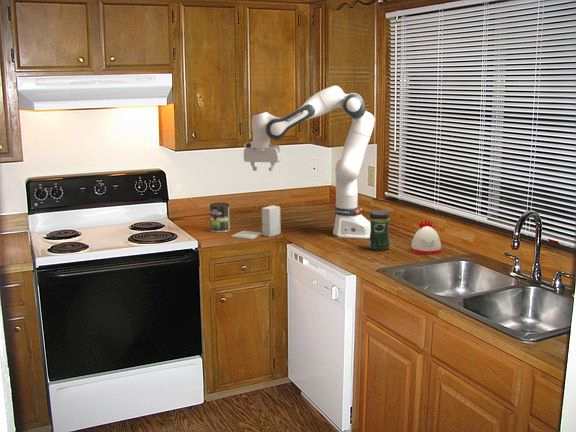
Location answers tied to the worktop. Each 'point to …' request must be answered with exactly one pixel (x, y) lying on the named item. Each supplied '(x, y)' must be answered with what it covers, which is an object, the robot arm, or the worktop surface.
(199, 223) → the worktop surface
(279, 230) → the skincare box
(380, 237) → the coffee jar
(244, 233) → the plate
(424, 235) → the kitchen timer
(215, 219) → the coffee can
